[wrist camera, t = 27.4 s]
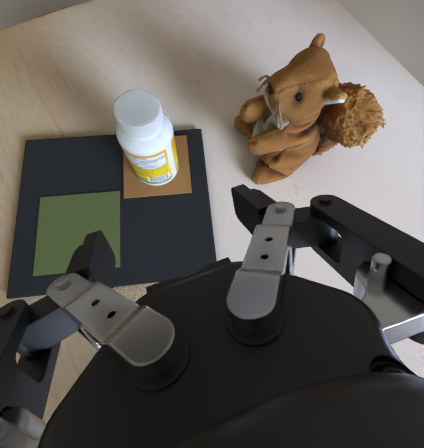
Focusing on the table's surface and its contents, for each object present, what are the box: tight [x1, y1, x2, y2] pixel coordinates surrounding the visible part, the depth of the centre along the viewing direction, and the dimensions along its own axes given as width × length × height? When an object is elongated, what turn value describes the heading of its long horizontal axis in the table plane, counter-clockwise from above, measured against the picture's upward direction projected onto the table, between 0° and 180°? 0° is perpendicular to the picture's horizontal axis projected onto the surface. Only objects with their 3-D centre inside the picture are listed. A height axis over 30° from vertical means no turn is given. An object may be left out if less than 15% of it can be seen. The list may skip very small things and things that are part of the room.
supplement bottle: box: [113, 89, 178, 186], centre depth 24 cm, size 5×5×10 cm
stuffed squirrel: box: [234, 33, 386, 184], centre depth 25 cm, size 10×14×13 cm
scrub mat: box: [7, 129, 216, 299], centre depth 28 cm, size 22×19×1 cm
